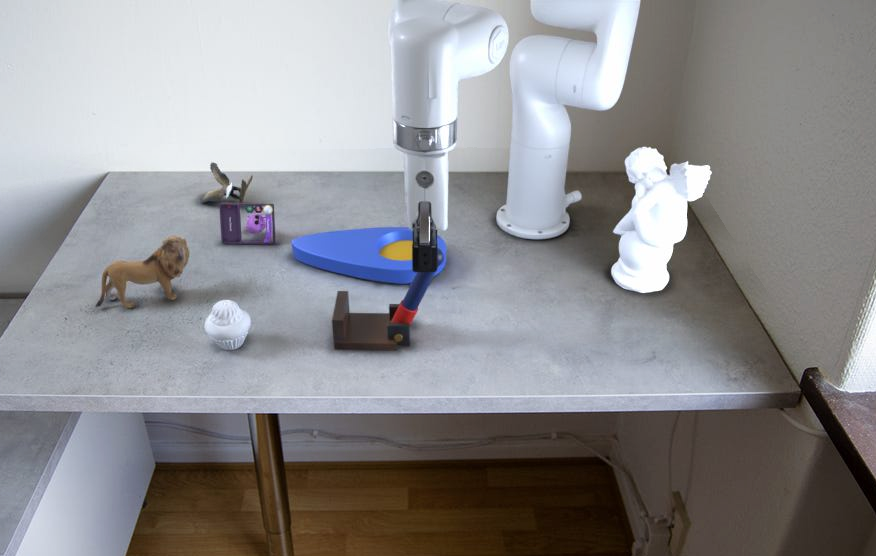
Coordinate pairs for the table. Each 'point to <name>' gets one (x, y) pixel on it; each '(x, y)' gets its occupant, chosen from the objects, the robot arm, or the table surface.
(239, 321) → the muffin
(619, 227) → the cherub figurine
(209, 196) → the eagle figurine
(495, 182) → the table surface
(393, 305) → the brown lever base
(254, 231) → the purple toy package
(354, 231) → the location marker
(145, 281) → the lion figurine
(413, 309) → the blue lever handle
